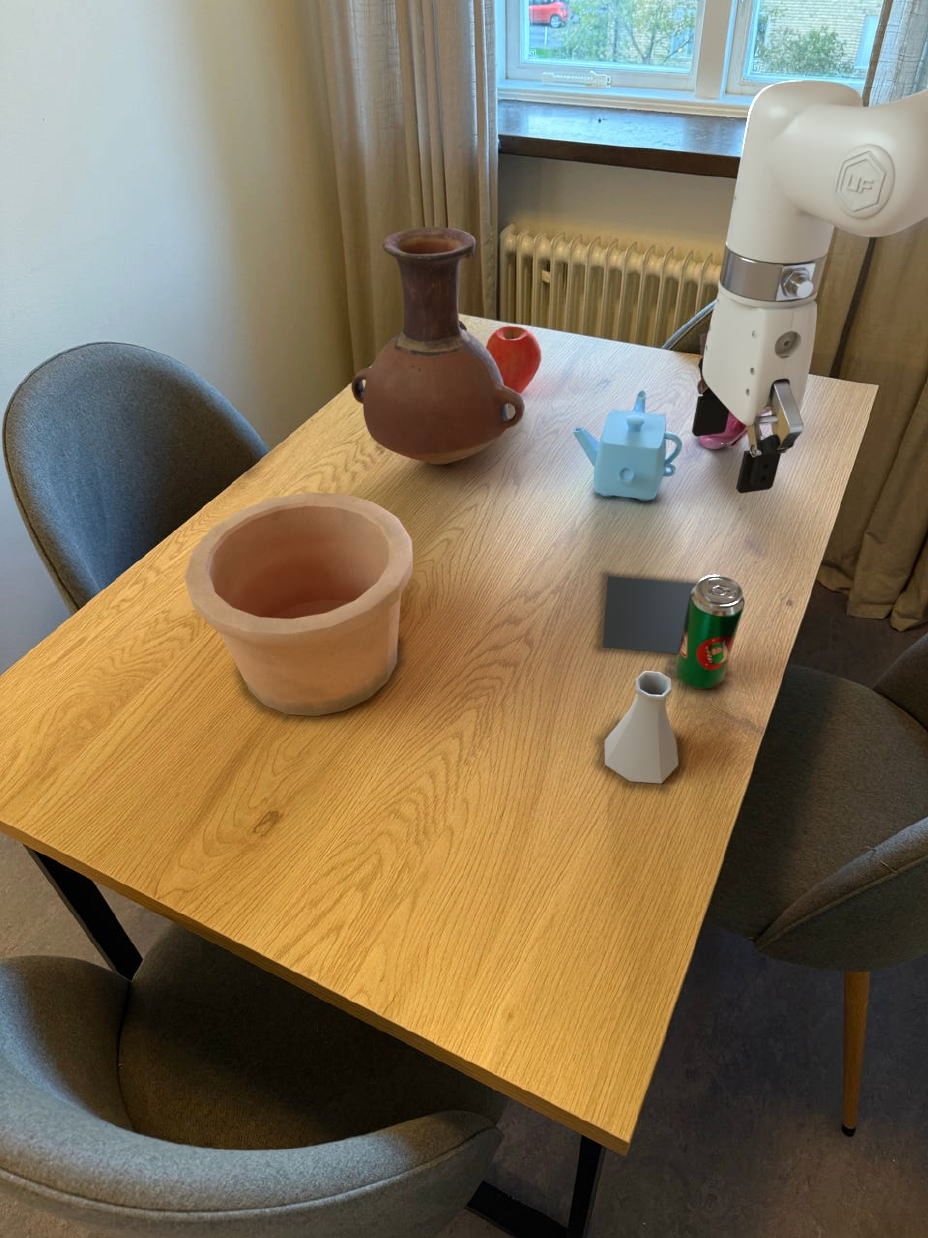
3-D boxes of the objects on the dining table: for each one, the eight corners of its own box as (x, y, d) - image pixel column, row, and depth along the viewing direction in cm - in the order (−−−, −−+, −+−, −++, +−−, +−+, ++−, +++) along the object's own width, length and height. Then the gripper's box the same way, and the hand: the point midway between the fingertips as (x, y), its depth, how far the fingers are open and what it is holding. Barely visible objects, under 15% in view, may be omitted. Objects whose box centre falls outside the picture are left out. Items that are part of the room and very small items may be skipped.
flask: (592, 770, 79) (601, 700, 72) (615, 716, 83) (626, 645, 77) (667, 796, 76) (684, 726, 69) (687, 739, 81) (704, 668, 74)
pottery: (353, 767, 80) (333, 663, 70) (176, 694, 87) (135, 590, 78) (456, 626, 94) (451, 522, 84) (295, 573, 101) (274, 473, 91)
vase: (537, 432, 124) (544, 218, 103) (508, 509, 110) (509, 279, 89) (379, 415, 129) (357, 208, 108) (332, 486, 115) (296, 264, 94)
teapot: (669, 529, 105) (681, 460, 99) (559, 515, 108) (563, 447, 101) (679, 454, 118) (690, 389, 111) (580, 443, 121) (585, 379, 114)
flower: (695, 471, 121) (674, 404, 119) (735, 450, 126) (716, 386, 124) (762, 455, 111) (740, 383, 109) (802, 434, 116) (782, 364, 114)
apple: (546, 386, 134) (549, 320, 126) (529, 411, 128) (530, 344, 121) (496, 378, 136) (496, 313, 129) (477, 402, 131) (476, 336, 123)
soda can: (681, 649, 90) (700, 566, 81) (728, 664, 88) (752, 581, 79) (667, 682, 86) (685, 599, 78) (716, 698, 85) (739, 615, 76)
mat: (711, 586, 97) (711, 584, 97) (716, 659, 89) (716, 657, 89) (607, 577, 99) (607, 575, 99) (602, 647, 90) (602, 646, 90)
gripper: (876, 309, 59) (814, 508, 71) (765, 229, 71) (728, 409, 83) (777, 321, 58) (731, 520, 70) (682, 238, 71) (656, 419, 82)
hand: (729, 460), depth 76 cm, fingers open, 9 cm apart
